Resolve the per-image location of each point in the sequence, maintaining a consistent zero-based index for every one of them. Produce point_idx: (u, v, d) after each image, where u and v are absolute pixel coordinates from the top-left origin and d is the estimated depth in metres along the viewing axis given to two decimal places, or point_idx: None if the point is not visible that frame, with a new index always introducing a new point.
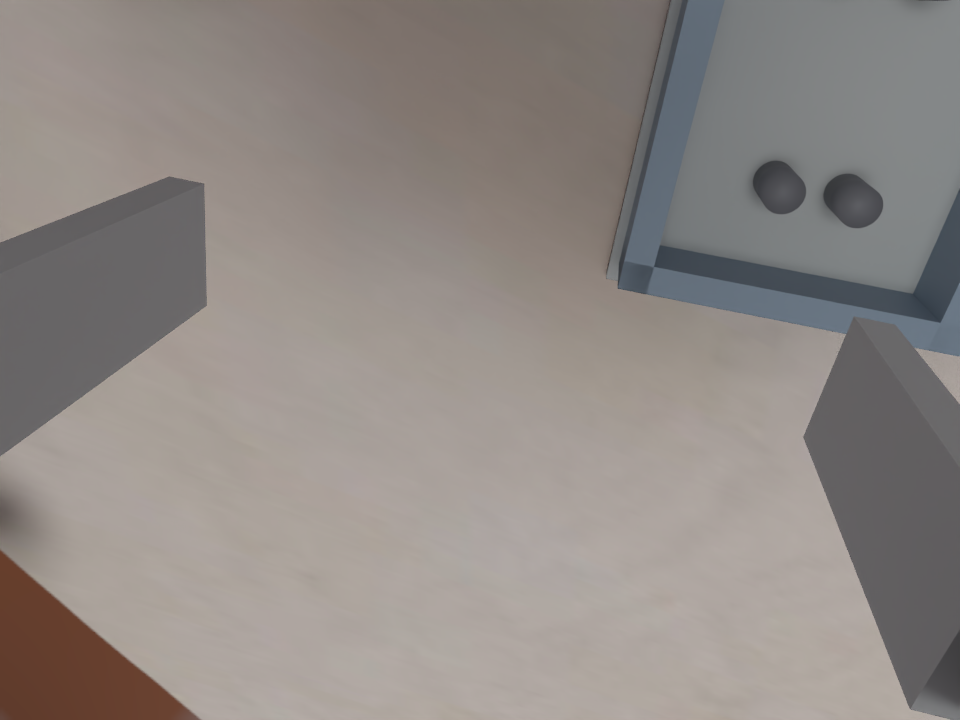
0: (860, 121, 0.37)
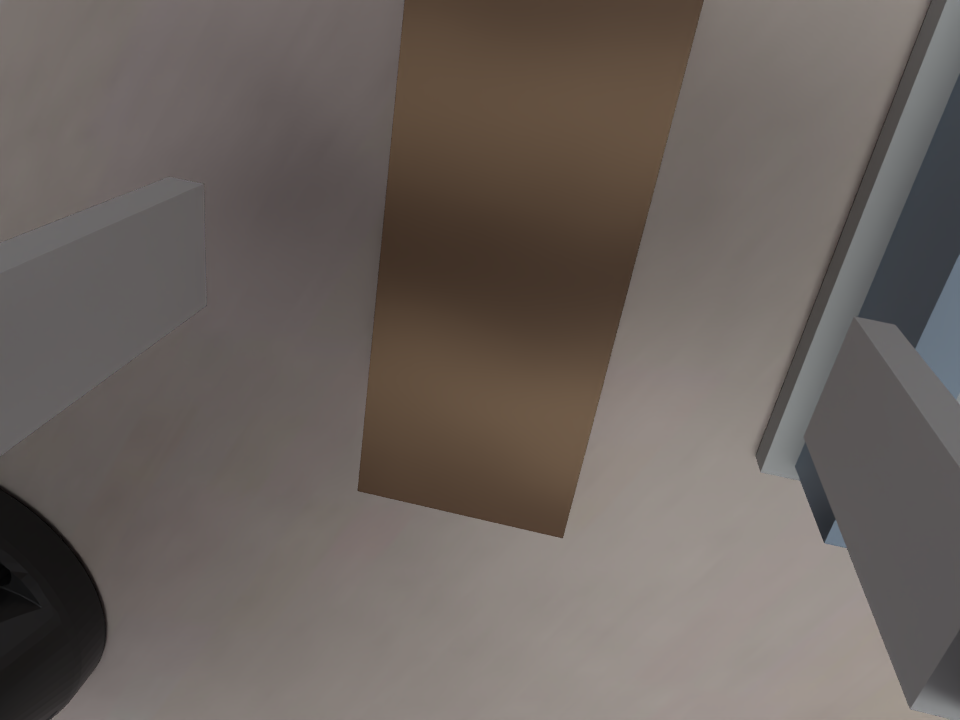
0: None
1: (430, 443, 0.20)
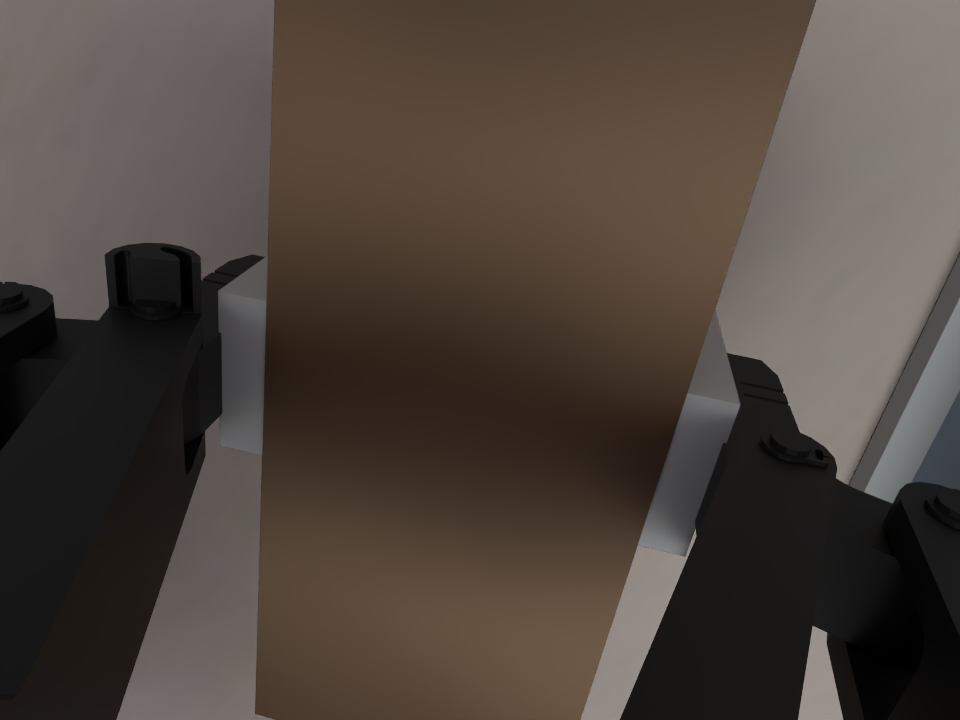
0: None
1: (356, 662, 0.13)
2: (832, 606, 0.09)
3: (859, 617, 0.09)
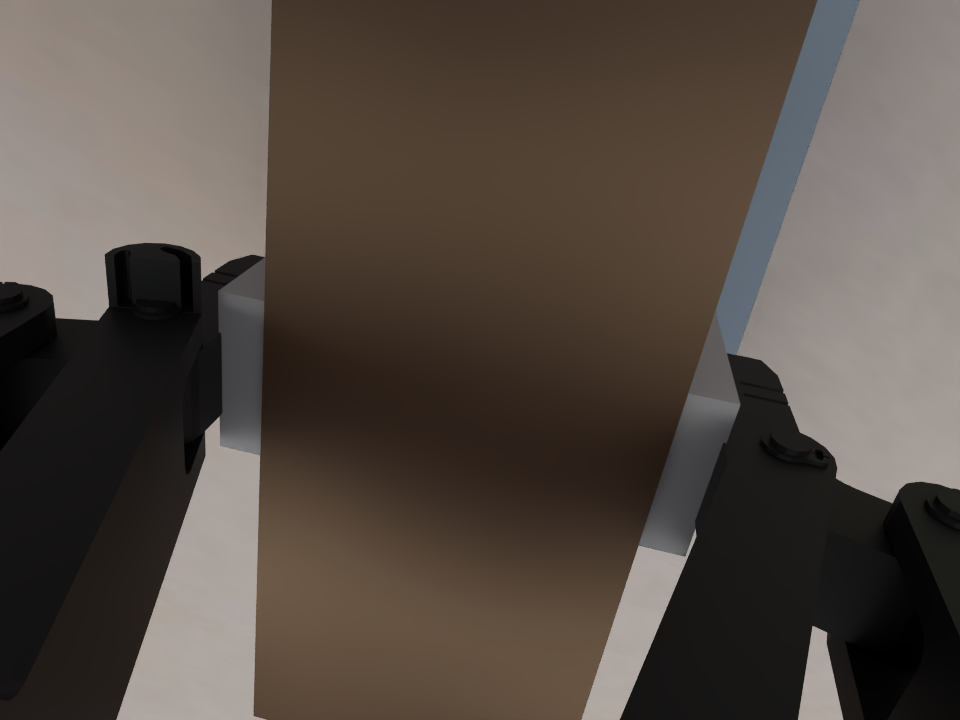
0: None
1: (355, 664, 0.13)
2: (832, 606, 0.09)
3: (859, 616, 0.09)
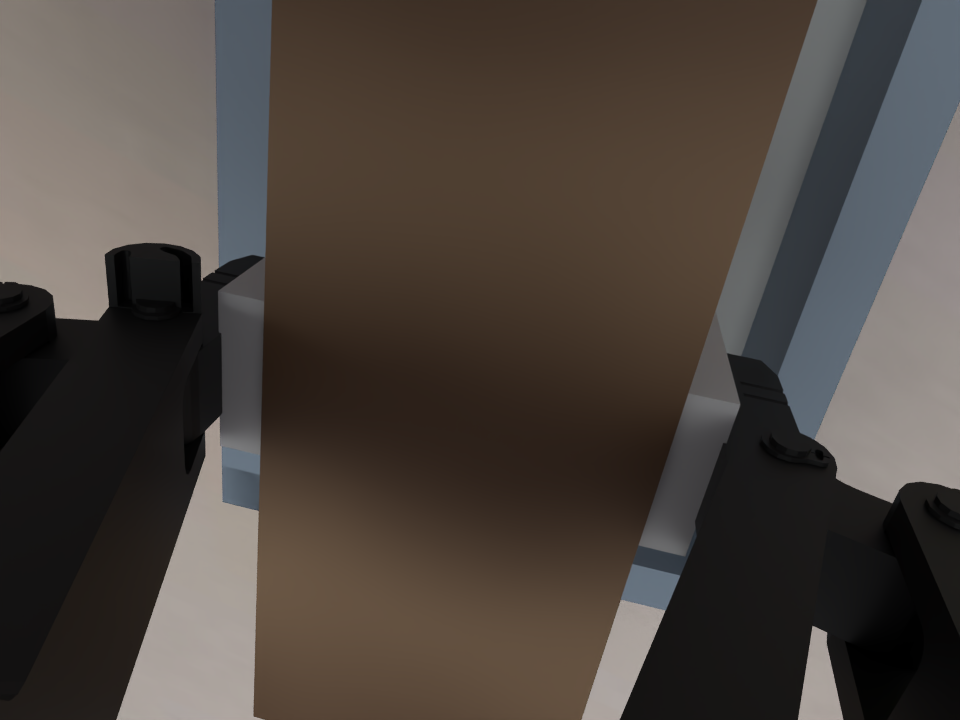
0: None
1: (355, 664, 0.13)
2: (832, 606, 0.09)
3: (859, 617, 0.09)
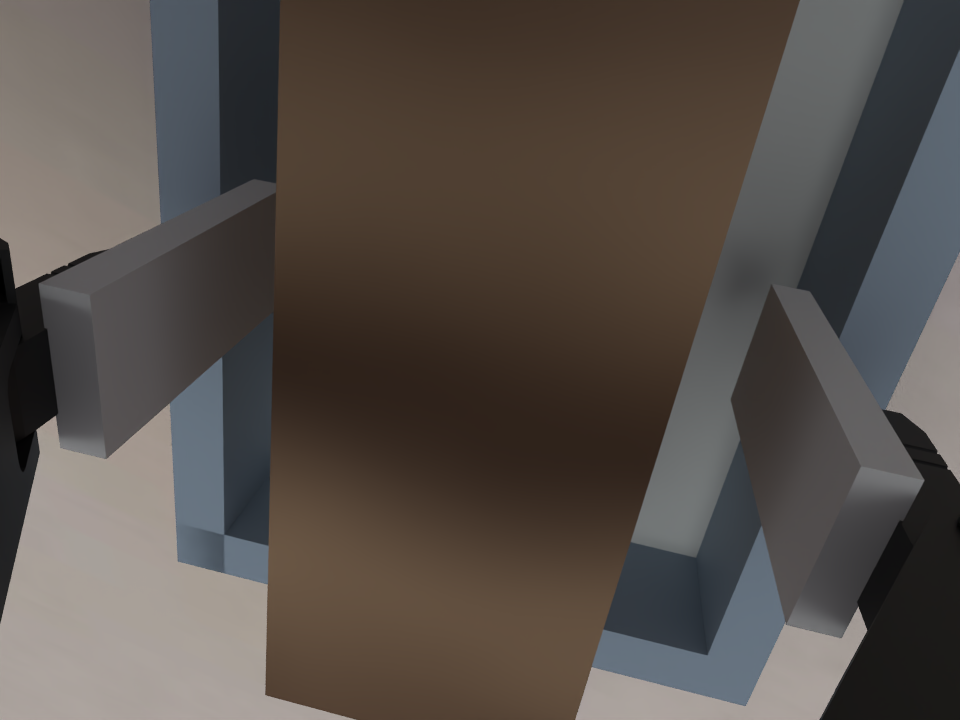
0: None
1: (363, 643, 0.14)
2: None
3: None
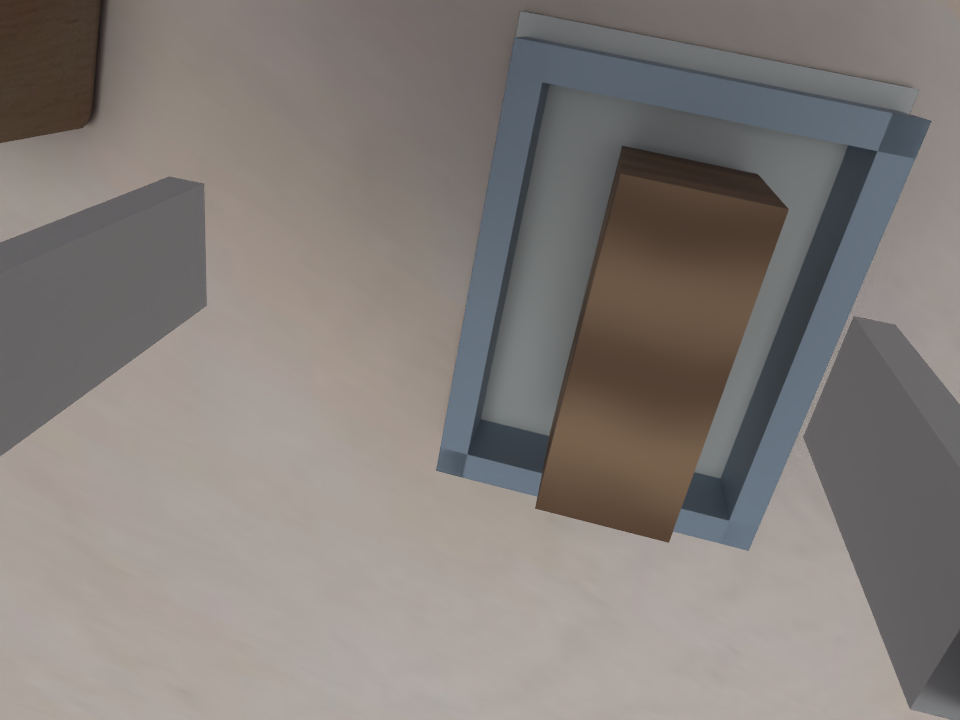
0: None
1: (588, 479, 0.32)
2: None
3: None
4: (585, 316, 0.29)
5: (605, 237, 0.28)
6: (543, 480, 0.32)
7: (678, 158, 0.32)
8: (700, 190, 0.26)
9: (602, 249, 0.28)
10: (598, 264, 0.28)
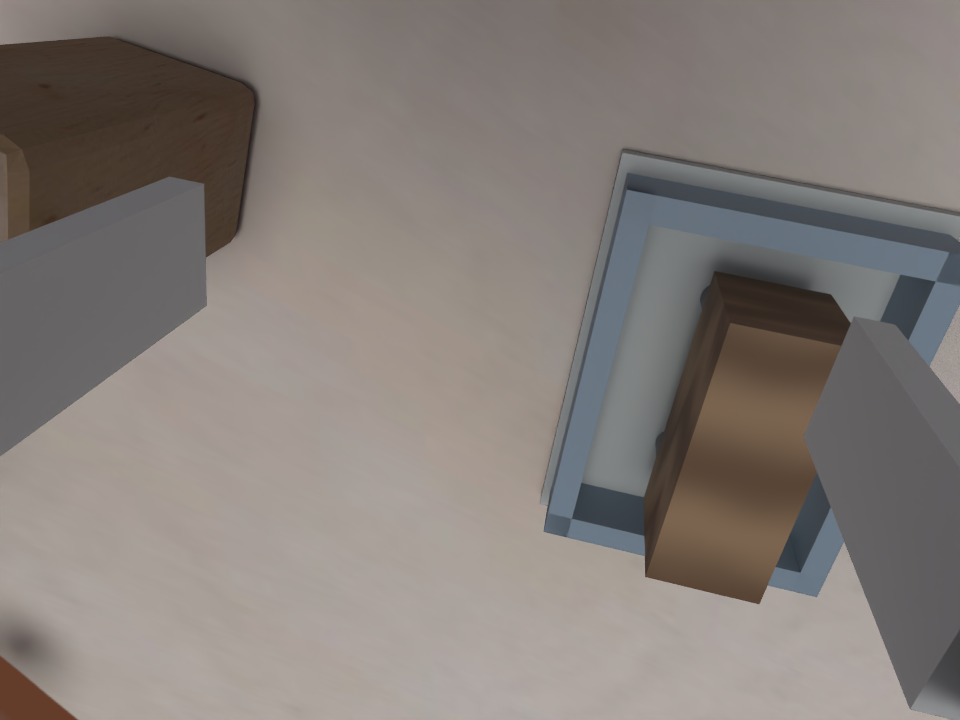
0: None
1: (692, 554, 0.38)
2: None
3: None
4: (695, 429, 0.35)
5: (715, 370, 0.34)
6: (653, 555, 0.39)
7: (763, 282, 0.38)
8: (796, 336, 0.32)
9: (712, 379, 0.34)
10: (708, 390, 0.34)
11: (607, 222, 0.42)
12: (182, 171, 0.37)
